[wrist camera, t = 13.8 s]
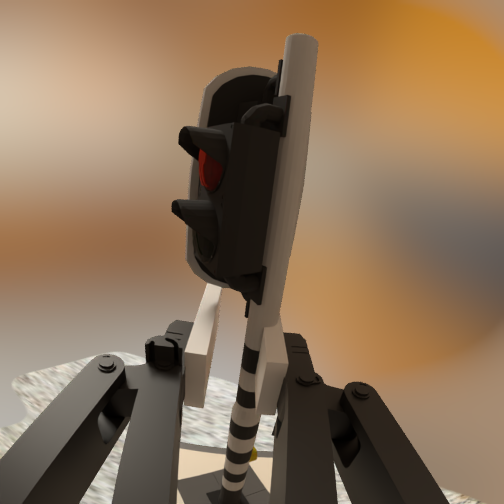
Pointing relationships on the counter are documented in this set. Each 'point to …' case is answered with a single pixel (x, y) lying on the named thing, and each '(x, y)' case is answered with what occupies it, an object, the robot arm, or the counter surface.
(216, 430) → the counter surface
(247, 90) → the miniature traffic light
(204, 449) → the plate
